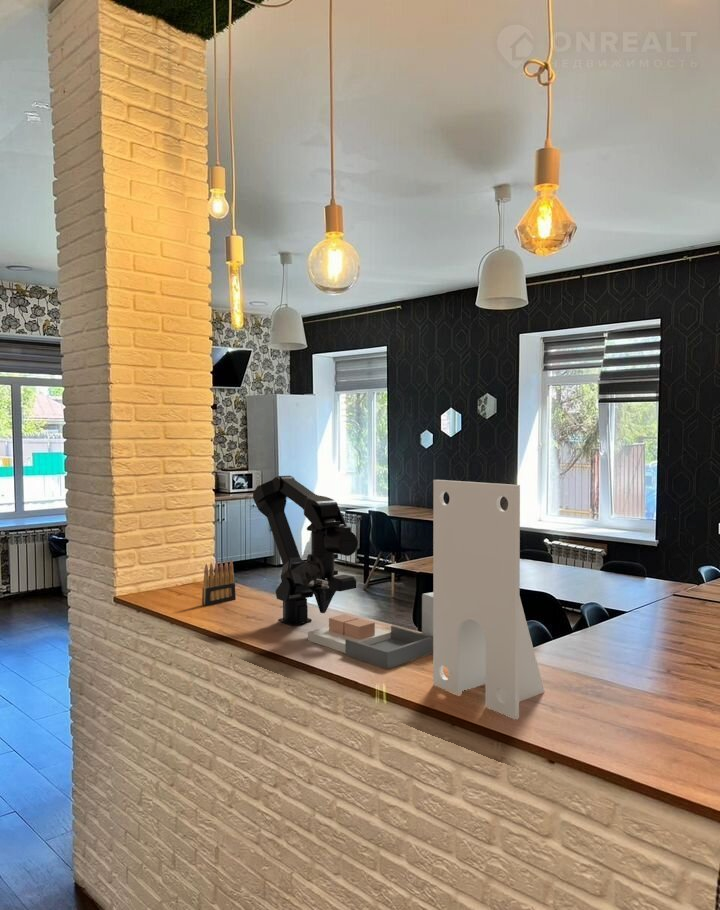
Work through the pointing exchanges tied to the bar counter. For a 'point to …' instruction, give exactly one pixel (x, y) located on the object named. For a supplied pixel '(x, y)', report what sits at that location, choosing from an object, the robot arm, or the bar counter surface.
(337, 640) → the plate
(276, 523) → the robot arm
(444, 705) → the bar counter surface
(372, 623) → the tile front
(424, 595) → the skincare box
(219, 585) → the ammunition clip
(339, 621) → the tile rear
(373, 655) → the tray
